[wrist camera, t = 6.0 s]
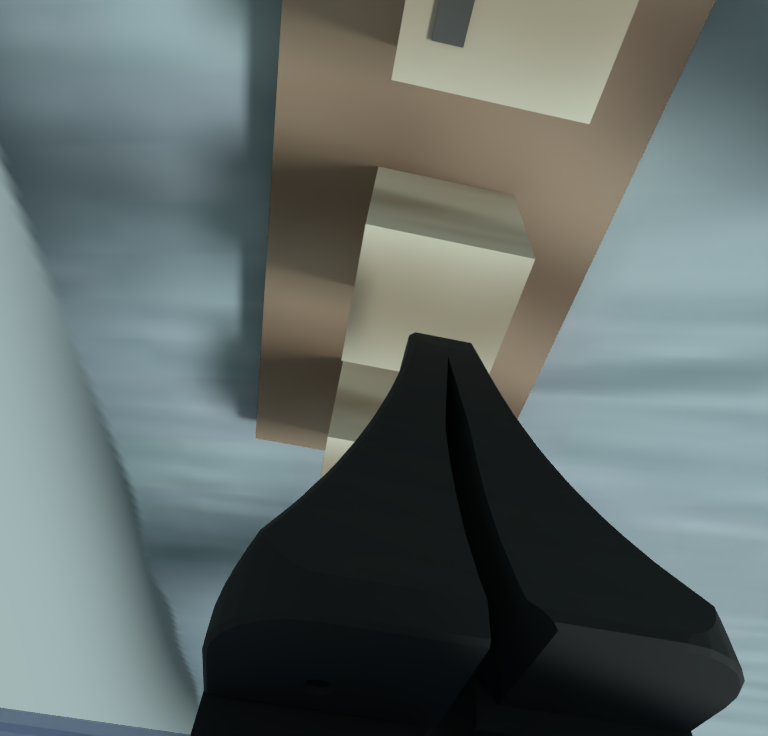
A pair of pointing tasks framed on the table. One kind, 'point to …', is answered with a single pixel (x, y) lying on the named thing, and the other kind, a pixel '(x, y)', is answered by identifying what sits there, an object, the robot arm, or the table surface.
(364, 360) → the plain block
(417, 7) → the letter t cube
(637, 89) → the walnut board
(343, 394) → the block one
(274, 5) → the table surface
